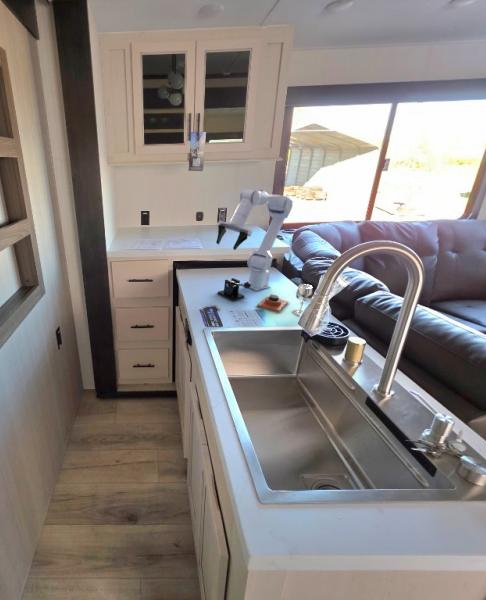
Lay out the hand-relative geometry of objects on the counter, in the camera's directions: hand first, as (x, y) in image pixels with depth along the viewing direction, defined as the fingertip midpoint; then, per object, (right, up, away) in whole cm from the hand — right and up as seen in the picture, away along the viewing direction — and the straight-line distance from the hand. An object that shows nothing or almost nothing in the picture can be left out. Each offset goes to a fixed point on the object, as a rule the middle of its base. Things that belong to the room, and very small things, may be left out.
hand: (225, 246), depth 130 cm
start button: (+22, -22, +5) cm, 32 cm away
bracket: (+6, -21, +16) cm, 27 cm away
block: (+22, -25, +6) cm, 34 cm away
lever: (+9, -17, +10) cm, 21 cm away
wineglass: (+30, -28, -1) cm, 41 cm away
